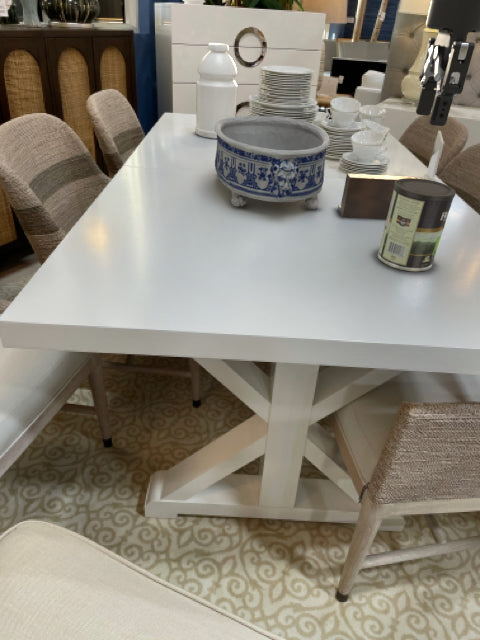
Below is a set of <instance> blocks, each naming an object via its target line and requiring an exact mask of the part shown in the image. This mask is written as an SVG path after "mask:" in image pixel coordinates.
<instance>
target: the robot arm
mask: <svg viewBox="0 0 480 640" xmlns="http://www.w3.org/2000/svg"><path fill="white" fill-rule="evenodd" d="M425 27H426V28H427V29H429V30H437V31H438V32H437V35H436V37H432V36H430V37H429V39H428V41H427V46H426V50H425V52H424V53H425V54H424V58H423V61H422V65H421V69H420V73H419V75H418V81H419V84H420V88H421V89H420V92H419V96H418V101H417V105H416V108H415V113H416V115H418V116H425V117H427V116H429V120H428V123H429V124H430V125H431V126H436V127H444V126H445V125H446V124H447V121H448V117H449V114H450V111H451V107H452V103H453V100H454V98H456V97H457V95H461V94H462V93H463V90H464V86H465V83H466V80H467V76H468V72H469V68H470V66H471V61H472V58H473V53H474V50H475V48H476V47H475V46H476V43H475V42H471V41H470V42H469V41H467V39H468V35H469V33H474V34H479V33H480V0H431V1H430V6H429V9H428V14H427V18H426V21H425Z"/></svg>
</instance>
